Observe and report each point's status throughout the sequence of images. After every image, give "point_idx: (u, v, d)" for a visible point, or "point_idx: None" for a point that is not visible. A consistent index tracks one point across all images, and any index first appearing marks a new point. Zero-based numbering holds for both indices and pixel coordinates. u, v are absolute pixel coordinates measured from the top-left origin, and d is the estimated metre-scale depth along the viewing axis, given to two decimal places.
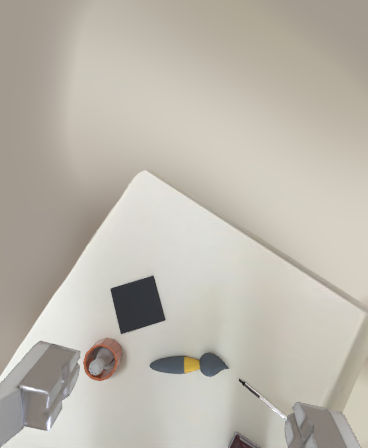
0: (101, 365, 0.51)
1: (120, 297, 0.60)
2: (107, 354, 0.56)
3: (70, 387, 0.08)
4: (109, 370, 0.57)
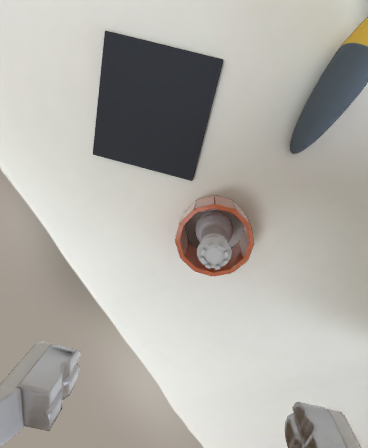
0: (217, 240, 0.20)
1: (119, 140, 0.25)
2: (210, 223, 0.25)
3: (70, 387, 0.08)
4: (243, 236, 0.26)
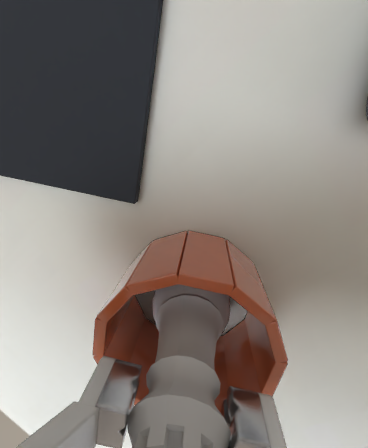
0: (180, 413, 0.06)
1: None
2: (179, 302, 0.11)
3: (133, 402, 0.08)
4: (254, 315, 0.12)
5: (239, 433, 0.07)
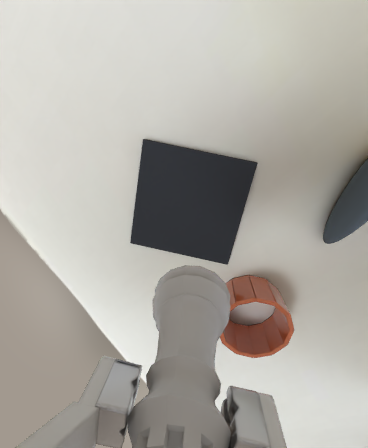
0: (180, 414, 0.06)
1: (156, 231, 0.26)
2: (179, 302, 0.11)
3: (133, 402, 0.08)
4: (278, 313, 0.27)
5: (239, 432, 0.07)
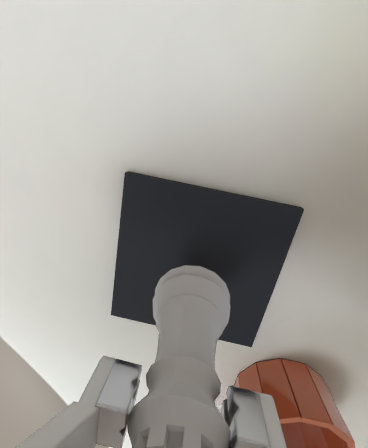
0: (180, 414, 0.06)
1: (148, 301, 0.18)
2: (179, 302, 0.11)
3: (133, 402, 0.08)
4: None
5: (239, 433, 0.07)
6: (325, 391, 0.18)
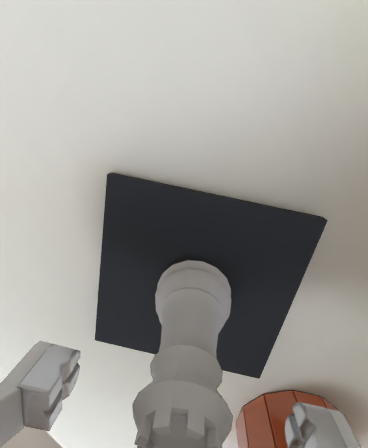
0: (184, 398, 0.07)
1: (138, 325, 0.15)
2: (181, 295, 0.11)
3: (70, 387, 0.08)
4: None
5: None
6: None
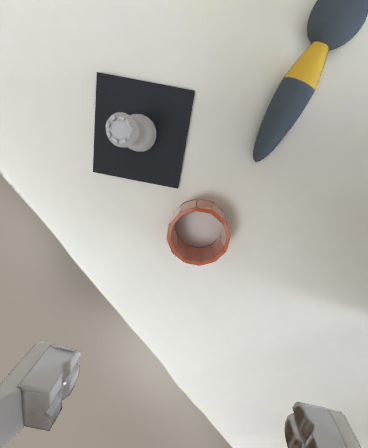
0: (120, 114, 0.22)
1: (114, 159, 0.30)
2: None
3: (70, 387, 0.08)
4: (223, 231, 0.32)
5: None
6: (219, 210, 0.30)
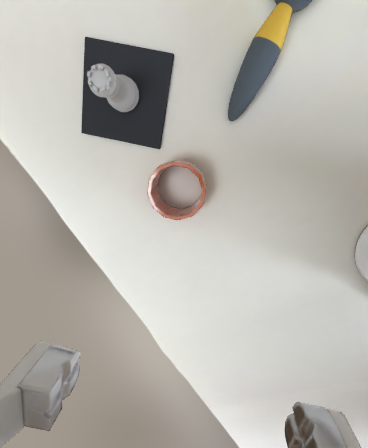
0: (100, 65, 0.24)
1: (101, 120, 0.33)
2: None
3: (70, 387, 0.08)
4: None
5: None
6: (197, 169, 0.33)
